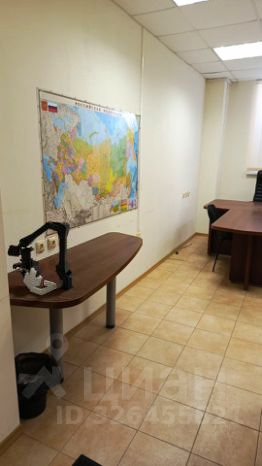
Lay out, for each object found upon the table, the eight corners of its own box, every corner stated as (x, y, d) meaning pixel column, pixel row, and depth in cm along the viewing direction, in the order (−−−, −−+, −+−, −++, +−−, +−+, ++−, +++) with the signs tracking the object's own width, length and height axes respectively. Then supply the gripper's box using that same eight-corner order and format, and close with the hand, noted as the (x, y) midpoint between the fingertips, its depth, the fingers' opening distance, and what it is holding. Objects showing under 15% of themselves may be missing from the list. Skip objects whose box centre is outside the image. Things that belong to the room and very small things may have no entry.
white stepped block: (33, 277, 193) (38, 263, 187) (39, 285, 190) (44, 272, 184) (22, 281, 188) (27, 266, 182) (29, 289, 185) (34, 275, 179)
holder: (56, 288, 187) (56, 283, 187) (41, 295, 177) (41, 290, 177) (45, 284, 192) (45, 280, 191) (30, 291, 182) (29, 286, 181)
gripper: (47, 257, 190) (47, 281, 193) (26, 251, 199) (26, 274, 203) (32, 262, 180) (33, 287, 184) (11, 255, 190) (12, 279, 193)
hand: (26, 281), depth 191 cm, fingers closed, pressing on white stepped block
